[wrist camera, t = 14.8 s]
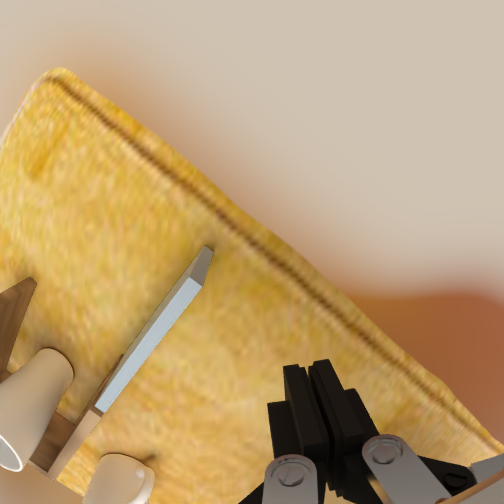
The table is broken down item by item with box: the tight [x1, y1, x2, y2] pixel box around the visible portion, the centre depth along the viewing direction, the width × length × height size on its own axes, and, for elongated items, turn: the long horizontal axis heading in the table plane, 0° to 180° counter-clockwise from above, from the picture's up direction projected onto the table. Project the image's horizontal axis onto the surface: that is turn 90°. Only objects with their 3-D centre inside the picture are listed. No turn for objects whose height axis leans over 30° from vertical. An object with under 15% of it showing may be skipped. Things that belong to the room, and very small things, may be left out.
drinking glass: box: [0, 348, 73, 472], centre depth 23 cm, size 7×7×15 cm
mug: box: [82, 454, 155, 504], centre depth 29 cm, size 12×8×10 cm
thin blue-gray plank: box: [95, 246, 214, 413], centre depth 24 cm, size 14×1×10 cm, turn 141°
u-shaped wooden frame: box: [0, 277, 124, 481], centre depth 26 cm, size 14×17×10 cm
